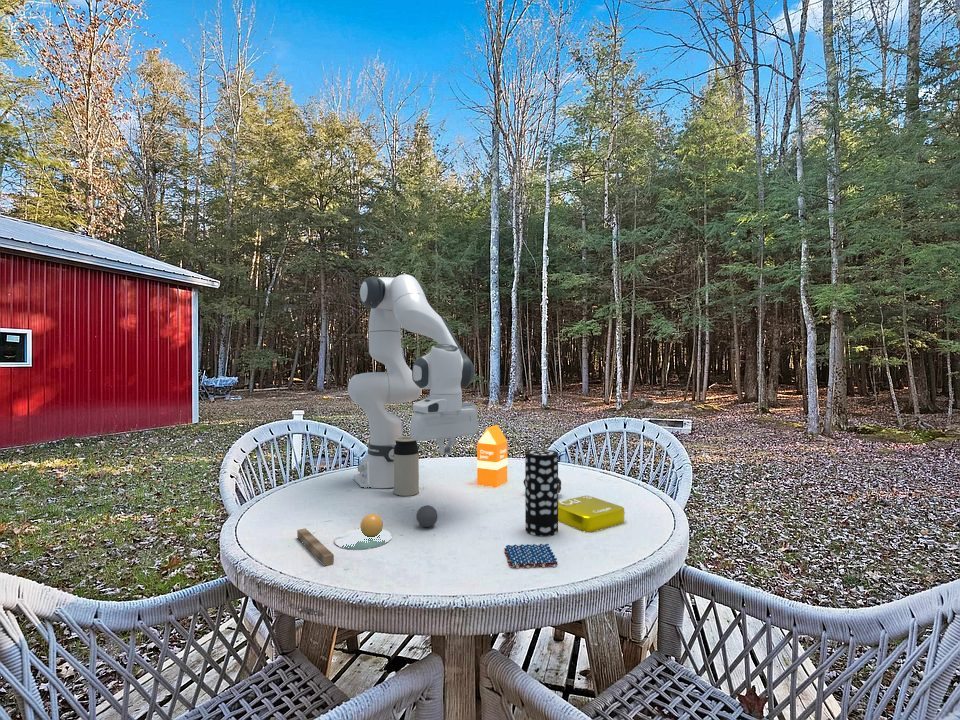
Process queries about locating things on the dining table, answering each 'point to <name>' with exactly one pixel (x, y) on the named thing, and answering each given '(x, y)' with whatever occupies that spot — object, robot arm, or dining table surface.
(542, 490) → the spotted tube
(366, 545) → the teal flat disc
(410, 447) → the travel mug
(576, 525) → the element tile
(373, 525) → the orange ball
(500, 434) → the orange juice
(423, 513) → the dark grey round ball
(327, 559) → the brown wooden bar
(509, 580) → the dining table surface
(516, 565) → the woven mat
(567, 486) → the dining table surface
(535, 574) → the dining table surface
